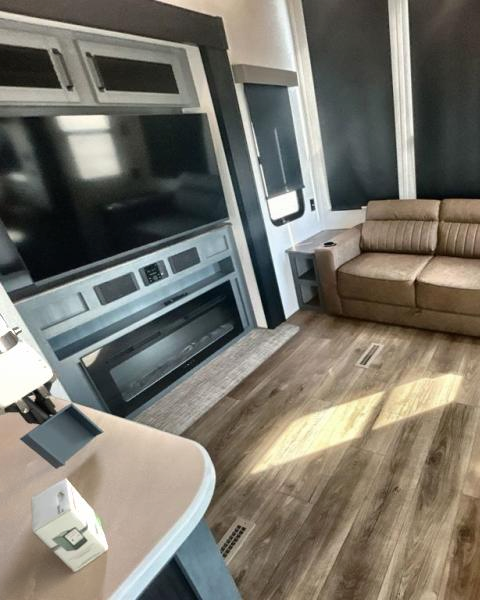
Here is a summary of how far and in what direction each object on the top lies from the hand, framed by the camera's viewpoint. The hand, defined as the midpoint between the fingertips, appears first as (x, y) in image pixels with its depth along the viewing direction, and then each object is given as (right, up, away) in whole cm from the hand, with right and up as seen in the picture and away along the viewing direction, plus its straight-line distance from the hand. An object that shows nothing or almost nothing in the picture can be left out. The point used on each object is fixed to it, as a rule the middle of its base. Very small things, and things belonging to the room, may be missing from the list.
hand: (44, 417), depth 76 cm
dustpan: (-1, -2, +2) cm, 3 cm away
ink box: (+21, -18, -13) cm, 31 cm away
